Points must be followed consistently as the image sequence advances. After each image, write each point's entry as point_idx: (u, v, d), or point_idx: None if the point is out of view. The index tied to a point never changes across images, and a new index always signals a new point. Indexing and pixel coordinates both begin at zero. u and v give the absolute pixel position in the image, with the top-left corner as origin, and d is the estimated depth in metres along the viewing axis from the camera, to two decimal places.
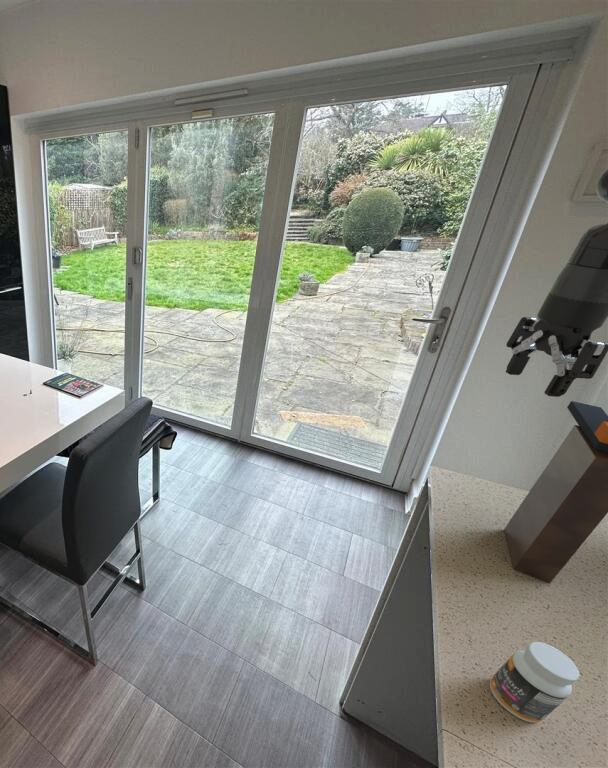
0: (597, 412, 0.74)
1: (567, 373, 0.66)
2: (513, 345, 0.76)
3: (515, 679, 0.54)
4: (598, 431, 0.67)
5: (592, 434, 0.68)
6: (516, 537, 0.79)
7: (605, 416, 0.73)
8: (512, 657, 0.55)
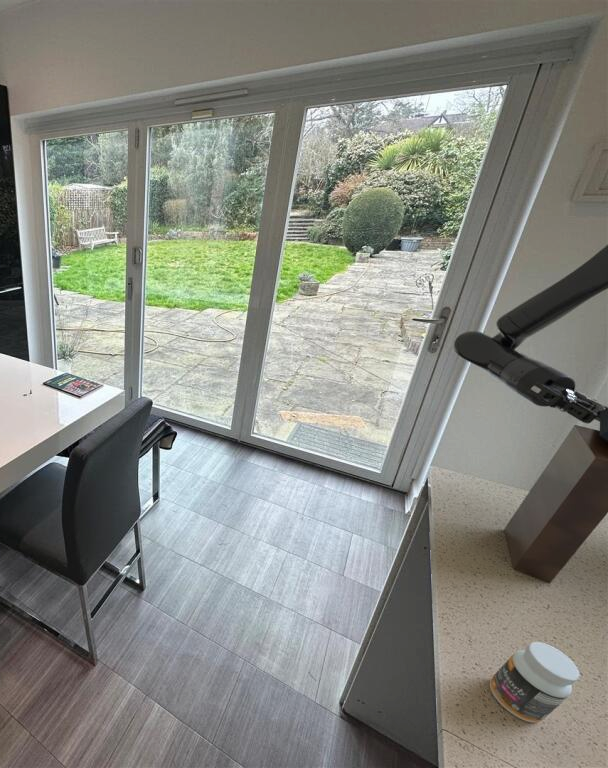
0: None
1: (560, 407, 0.78)
2: None
3: (515, 679, 0.54)
4: None
5: (607, 426, 0.68)
6: (516, 537, 0.79)
7: None
8: (512, 657, 0.55)
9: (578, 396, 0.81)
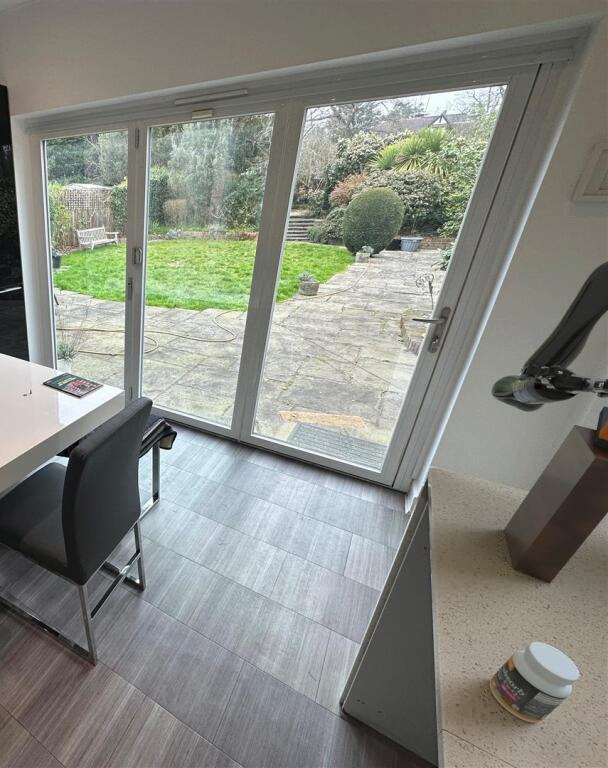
0: None
1: (537, 375, 0.86)
2: None
3: (515, 679, 0.54)
4: (602, 428, 0.67)
5: (598, 432, 0.68)
6: (516, 537, 0.79)
7: None
8: (512, 657, 0.55)
9: None
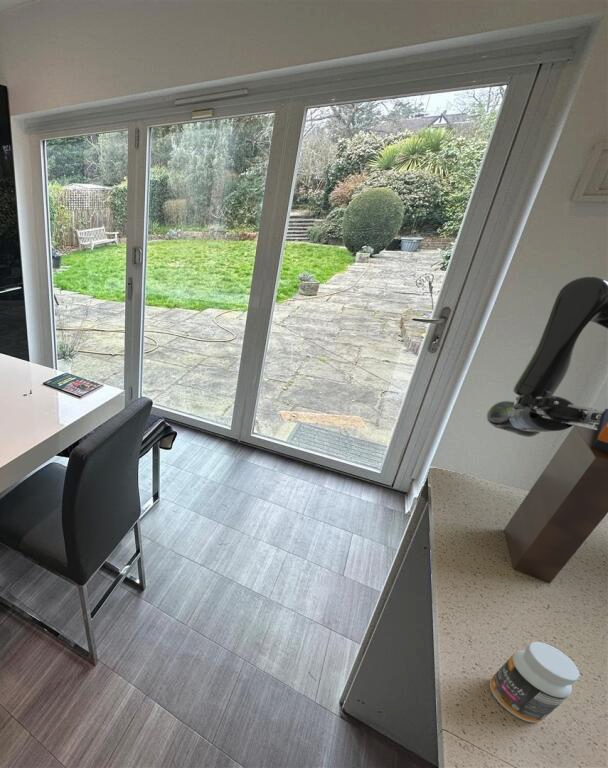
0: None
1: (533, 405, 0.84)
2: None
3: (515, 679, 0.54)
4: (601, 430, 0.67)
5: (598, 434, 0.68)
6: (516, 537, 0.79)
7: None
8: (512, 657, 0.55)
9: None
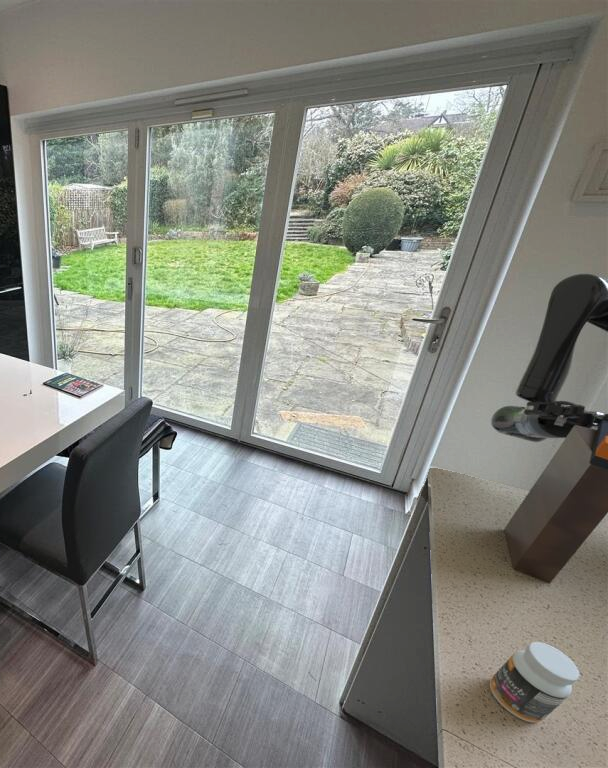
0: None
1: (558, 414, 0.77)
2: None
3: (515, 679, 0.54)
4: (599, 445, 0.63)
5: (595, 449, 0.64)
6: (516, 537, 0.79)
7: None
8: (512, 657, 0.55)
9: None
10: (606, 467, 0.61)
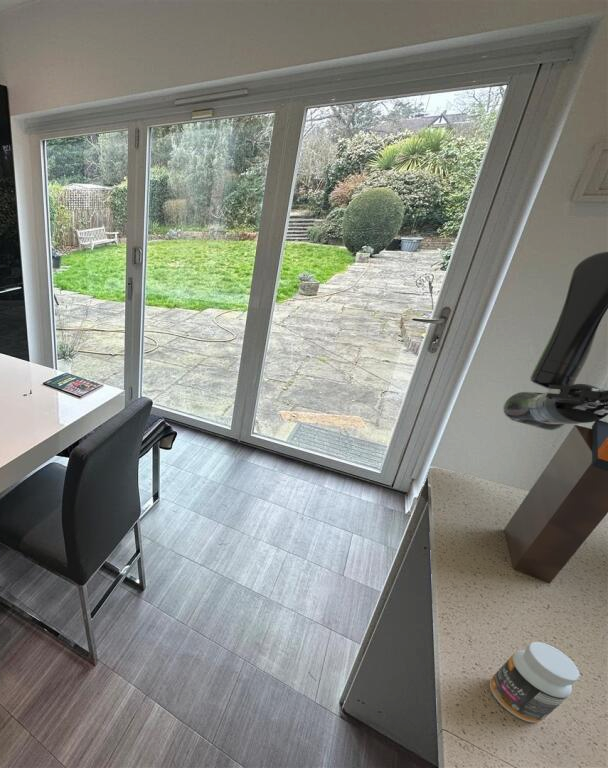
0: None
1: (594, 400, 0.71)
2: None
3: (515, 679, 0.54)
4: (600, 447, 0.62)
5: (596, 451, 0.64)
6: (516, 537, 0.79)
7: None
8: (512, 657, 0.55)
9: None
10: None
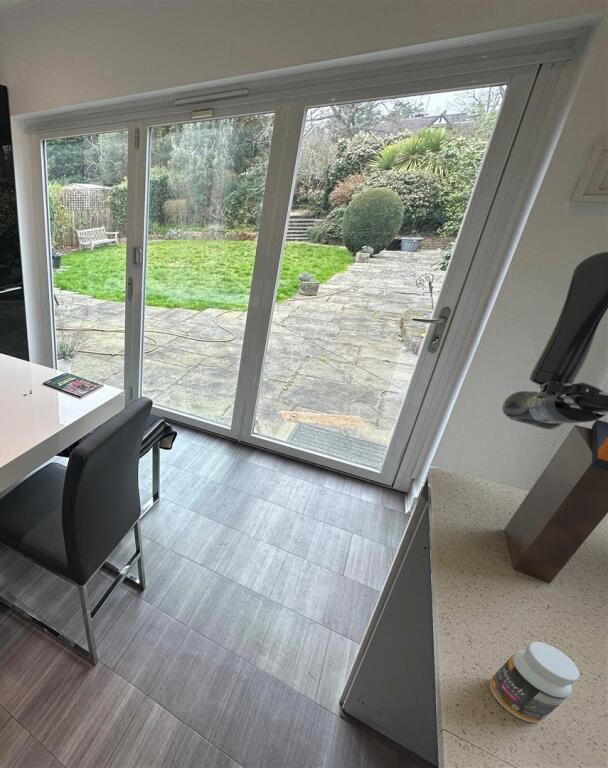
0: None
1: (560, 393, 0.75)
2: None
3: (515, 679, 0.54)
4: (600, 447, 0.62)
5: (596, 451, 0.64)
6: (516, 537, 0.79)
7: None
8: (512, 657, 0.55)
9: None
10: None
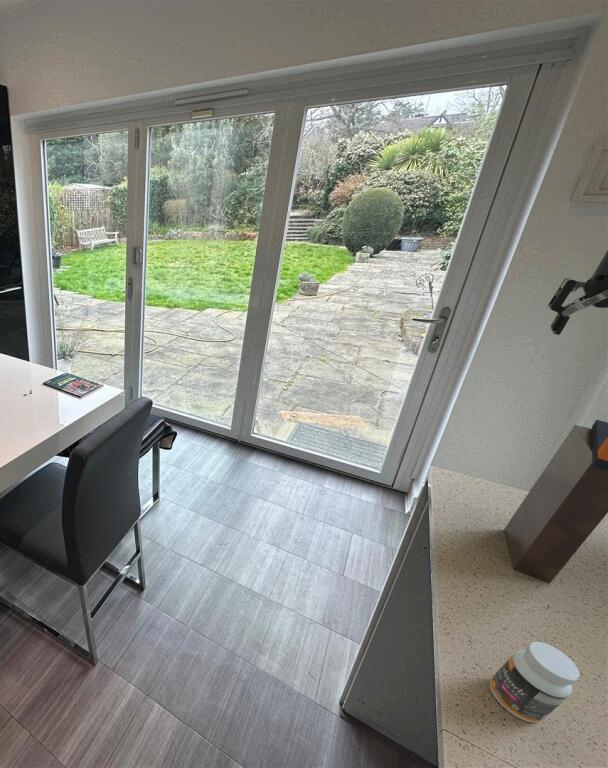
0: None
1: None
2: None
3: (515, 679, 0.54)
4: (600, 447, 0.62)
5: (596, 451, 0.64)
6: (516, 537, 0.79)
7: None
8: (512, 657, 0.55)
9: None
10: None
